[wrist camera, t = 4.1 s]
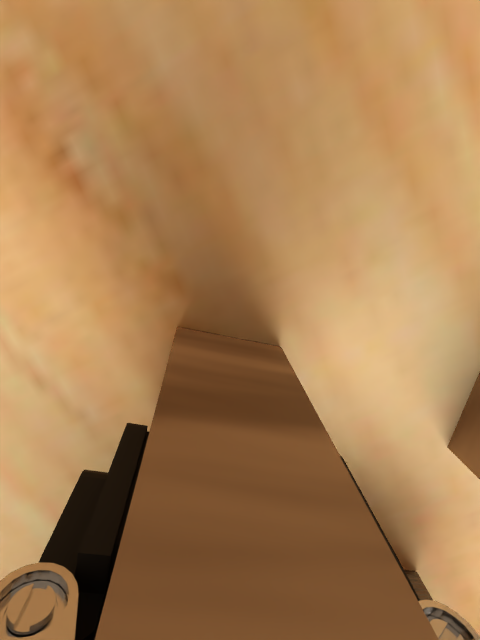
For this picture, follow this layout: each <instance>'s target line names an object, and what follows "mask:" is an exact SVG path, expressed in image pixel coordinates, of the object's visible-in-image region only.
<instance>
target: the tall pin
mask: <svg viewBox="0 0 480 640" xmlns="http://www.w3.org/2000/svg"><path fill="white" fill-rule="evenodd" d="M95 640H439V639H438V637H437V635H436V633H435V631H434V630H433V628H432V626H431V624H430V622H429V620H428V618H427V617H426V615H425V613H424V611H423V609H422V607H421V606H420V604H419V602H418V600H417V598H416V596H415V594H414V593H413V591H412V589H411V587H410V585H409V583H408V581H407V580H406V578H405V576H404V574H403V572H402V570H401V568H400V567H399V565H398V563H397V561H396V559H395V557H394V555H393V554H392V552H391V550H390V548H389V546H388V544H387V543H386V541H385V539H384V537H383V535H382V533H381V531H380V530H379V528H378V526H377V524H376V522H375V520H374V518H373V517H372V515H371V513H370V511H369V509H368V507H367V505H366V504H365V502H364V500H363V498H362V496H361V494H360V493H359V491H358V489H357V487H356V485H355V483H354V481H353V480H352V478H351V476H350V474H349V472H348V470H347V468H346V467H345V465H344V463H343V461H342V459H341V457H340V455H339V454H338V452H337V450H336V448H335V446H334V444H333V442H332V441H331V439H330V437H329V435H328V433H327V431H326V430H325V428H324V426H323V424H322V422H321V420H320V418H319V417H318V415H317V413H316V411H315V409H314V407H313V405H312V404H311V402H310V400H309V398H308V396H307V394H306V392H305V391H304V389H303V387H302V385H301V383H300V381H299V380H298V378H297V376H296V374H295V372H294V370H293V368H292V367H291V365H290V363H289V361H288V359H287V357H286V355H285V354H284V352H283V350H282V348H281V347H279V346H274V345H268V344H263V343H258V342H253V341H248V340H243V339H237V338H232V337H227V336H222V335H217V334H211V333H206V332H201V331H196V330H191V329H186V328H180V327H177V330H176V334H175V338H174V341H173V345H172V349H171V353H170V357H169V360H168V364H167V368H166V372H165V375H164V379H163V383H162V387H161V391H160V394H159V398H158V402H157V406H156V410H155V413H154V417H153V421H152V425H151V428H150V432H149V436H148V440H147V444H146V447H145V451H144V455H143V459H142V463H141V466H140V470H139V474H138V478H137V481H136V485H135V489H134V493H133V497H132V500H131V504H130V508H129V512H128V516H127V519H126V523H125V527H124V531H123V535H122V538H121V542H120V546H119V550H118V553H117V557H116V561H115V565H114V569H113V572H112V576H111V580H110V584H109V588H108V591H107V595H106V599H105V603H104V606H103V610H102V614H101V618H100V622H99V625H98V629H97V633H96V637H95Z"/></svg>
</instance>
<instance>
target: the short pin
mask: <svg viewBox="0 0 480 640" xmlns="http://www.w3.org/2000/svg"><path fill="white" fill-rule="evenodd" d="M448 448H449V449H450V450H451V451H452V452H453V453H454V454H455V455H456V456H457V457H458V458H459V459H460V460H461V461H462V462H463V463H464V464H465V465H466V466H467V467H468V468H469V469H470V470H471V471H472V472H473V473H474V474H475V475H476V476H477V477H478V478H479V479H480V373H479V375H478V377H477V380H476V382H475V384H474V387H473V389H472V391H471V394H470V396H469V398H468V401H467V403H466V405H465V408H464V410H463V412H462V414H461V417H460V419H459V421H458V424H457V426H456V428H455V431H454V433H453V435H452V438H451V440H450V442H449V445H448Z"/></svg>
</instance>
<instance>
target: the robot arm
mask: <svg viewBox="0 0 480 640" xmlns="http://www.w3.org/2000/svg"><path fill="white" fill-rule="evenodd" d="M147 427H148V426H145V425H138V424H132V423H127V425H126V428H125V430H124V433H123V435H122V438H121V441H120V443H119V446H118V449H117V451H116V454H115V456H114V459H113V462H112V464H111V467H110V470H109V472H108V473H105V472H98V471H90V470H84V471H83V472H82V474H81V475H80V477H79V480H78V482H77V484H76V486H75V488H74V490H73V492H72V494H71V496H70V498H69V500H68V502H67V504H66V507H65V509H64V511H63V513H62V515H61V517H60V519H59V521H58V523H57V525H56V527H55V529H54V531H53V534H52V536H51V538H50V540H49V542H48V544H47V546H46V548H45V550H44V552H43V554H42V556H41V558H40V561H39V563H35V564H31V565H26V566H24V567H22V568H20V569H17V570H15V571H13V572H11V573H10V574H9V575H7V576H6V577H5V578H3V579H2V580H1V581H0V640H95V637H96V633H97V629H98V625H99V622H100V618H101V614H102V610H103V606H104V603H105V599H106V595H107V591H108V588H109V584H110V580H111V576H112V572H113V569H114V565H115V561H116V557H117V553H118V550H119V546H120V542H121V538H122V535H123V531H124V527H125V523H126V519H127V516H128V512H129V508H130V504H131V500H132V497H133V493H134V489H135V485H136V481H137V478H138V474H139V470H140V466H141V463H142V459H143V455H144V451H145V447H146V444H147V440H148V436H149V432H147ZM340 457H341V456H340ZM341 459H342V461H343V463H344V465H345V467H346V468H347V470H348V472H349V474H350V476H351V478H352V480H353V481H354V483H355V485H356V487H357V489H358V491H359V493H360V494H361V496H362V498H363V500H364V502H365V504H366V505H367V507H368V509H369V511H370V513H371V515H372V517H373V518H374V520H375V522H376V524H377V526H378V528H379V530H380V531H381V533H382V535H383V537H384V539H385V541H386V543H387V544H388V546H389V548H390V550H391V552H392V554H393V555H394V557H395V559H396V561H397V563H398V565H399V567H400V568H401V570H402V572H403V574H404V576H405V578H406V580H407V581H408V583H409V585H410V587H411V589H412V591H413V593H414V594H415V596H416V598H417V600H418V602H419V604H420V606H421V607H422V609H423V611H424V613H425V615H426V617H427V618H428V620H429V622H430V624H431V626H432V628H433V630H434V631H435V633H436V635H437V637H438V639H439V640H480V636H479V635H478V634H477V632H476V631H475V630H474V629H473V628H472V626H471V625H470V624H469V623H468V622H467V621H466V620H465V619H464V618H463V617H461V616H460V615H459V614H458V613H457V612H455V611H454V610H452V609H451V608H449V607H448V606H446V605H443V604H441V603H439V602H437V601H432V600H421V601H420V599H419V597H418V595H417V594H416V592H415V590H414V588H413V585H412V584H411V582H410V580H409V578H408V576H407V575H406V573H405V571H404V569H403V567H402V565H401V564H400V562H399V560H398V558H397V556H396V554H395V553H394V551H393V549H392V547H391V545H390V543H389V542H388V540H387V538H386V536H385V534H384V533H383V531H382V529H381V527H380V525H379V523H378V522H377V520H376V518H375V516H374V514H373V512H372V511H371V509H370V507H369V505H368V503H367V501H366V500H365V498H364V496H363V494H362V492H361V490H360V489H359V487H358V485H357V483H356V481H355V480H354V478H353V476H352V474H351V472H350V470H349V469H348V467H347V465H346V463H345V461H344V459H343V458H342V457H341Z"/></svg>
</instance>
